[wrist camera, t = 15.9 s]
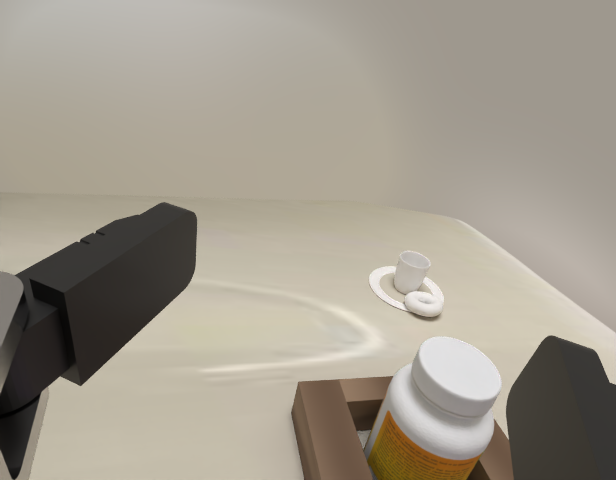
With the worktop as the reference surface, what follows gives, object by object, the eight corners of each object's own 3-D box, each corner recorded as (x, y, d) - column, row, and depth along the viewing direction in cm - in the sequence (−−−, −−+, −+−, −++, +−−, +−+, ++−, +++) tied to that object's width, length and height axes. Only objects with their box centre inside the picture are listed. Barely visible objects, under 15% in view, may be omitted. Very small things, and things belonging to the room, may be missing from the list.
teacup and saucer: (445, 331, 37) (460, 297, 35) (362, 307, 38) (373, 273, 36) (440, 281, 45) (452, 251, 43) (371, 263, 46) (380, 232, 44)
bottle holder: (329, 605, 18) (343, 575, 17) (291, 412, 26) (298, 381, 25) (542, 558, 21) (569, 530, 20) (448, 400, 30) (462, 372, 28)
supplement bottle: (457, 539, 21) (538, 425, 17) (359, 519, 21) (412, 400, 17) (438, 446, 26) (497, 337, 21) (358, 430, 26) (399, 317, 21)
